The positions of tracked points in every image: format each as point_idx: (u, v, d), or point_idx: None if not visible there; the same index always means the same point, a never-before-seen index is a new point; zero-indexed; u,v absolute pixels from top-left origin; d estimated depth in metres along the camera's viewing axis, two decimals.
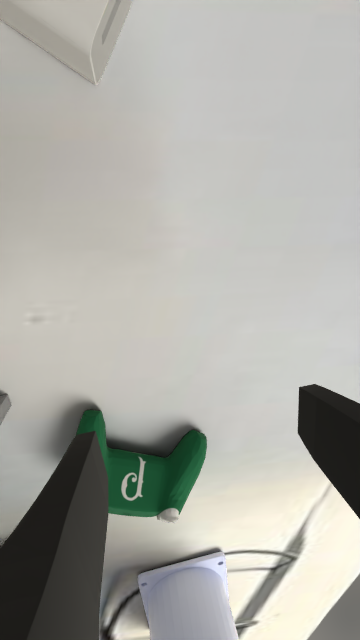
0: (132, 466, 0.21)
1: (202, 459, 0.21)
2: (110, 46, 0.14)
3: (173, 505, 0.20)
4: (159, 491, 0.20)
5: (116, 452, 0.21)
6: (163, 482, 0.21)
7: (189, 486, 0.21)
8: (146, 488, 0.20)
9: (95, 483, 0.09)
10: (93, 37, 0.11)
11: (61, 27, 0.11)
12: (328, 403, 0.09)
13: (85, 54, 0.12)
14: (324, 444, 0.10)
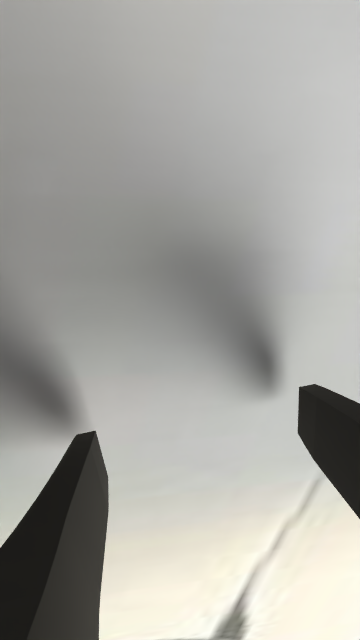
0: None
1: None
2: None
3: None
4: None
5: None
6: None
7: None
8: None
9: (95, 483, 0.09)
10: None
11: None
12: (328, 403, 0.09)
13: None
14: (323, 444, 0.10)
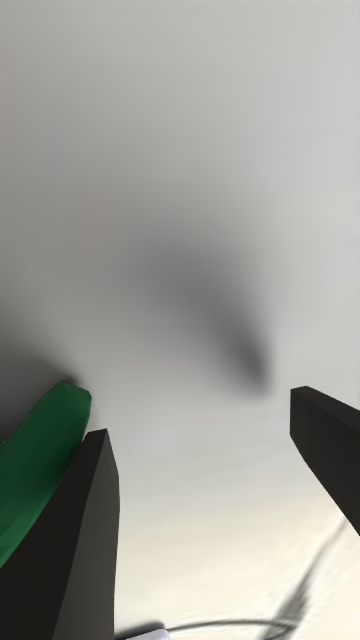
0: None
1: (69, 444, 0.09)
2: None
3: None
4: None
5: None
6: None
7: (32, 512, 0.09)
8: None
9: (108, 480, 0.09)
10: None
11: None
12: (318, 405, 0.09)
13: None
14: (314, 446, 0.10)
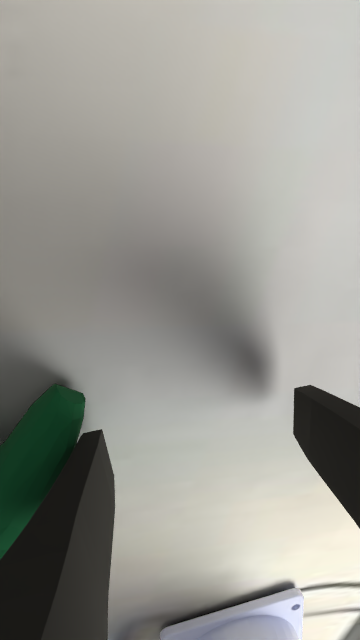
0: None
1: (62, 447, 0.09)
2: None
3: None
4: None
5: None
6: None
7: (26, 515, 0.09)
8: None
9: (102, 481, 0.09)
10: None
11: None
12: (322, 404, 0.09)
13: None
14: (318, 445, 0.10)
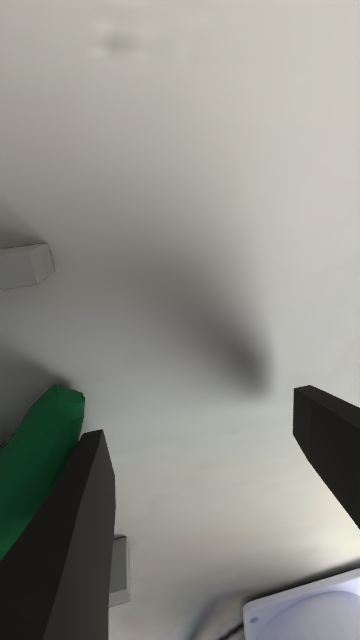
0: None
1: (63, 447, 0.09)
2: None
3: None
4: None
5: None
6: None
7: (31, 516, 0.09)
8: None
9: (103, 481, 0.09)
10: None
11: None
12: (322, 404, 0.09)
13: None
14: (318, 445, 0.10)
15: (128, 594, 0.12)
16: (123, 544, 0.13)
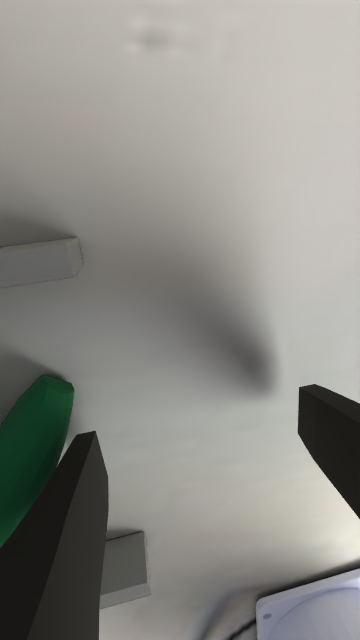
0: None
1: (50, 436, 0.09)
2: None
3: None
4: None
5: None
6: None
7: (18, 505, 0.09)
8: None
9: (95, 483, 0.09)
10: None
11: None
12: (328, 403, 0.09)
13: None
14: (324, 444, 0.10)
15: (148, 588, 0.12)
16: (142, 539, 0.13)
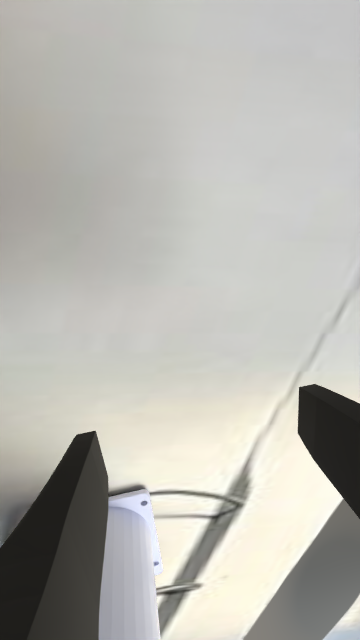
0: None
1: None
2: None
3: None
4: None
5: None
6: None
7: None
8: None
9: (95, 483, 0.09)
10: None
11: None
12: (328, 403, 0.09)
13: None
14: (323, 444, 0.10)
15: None
16: None
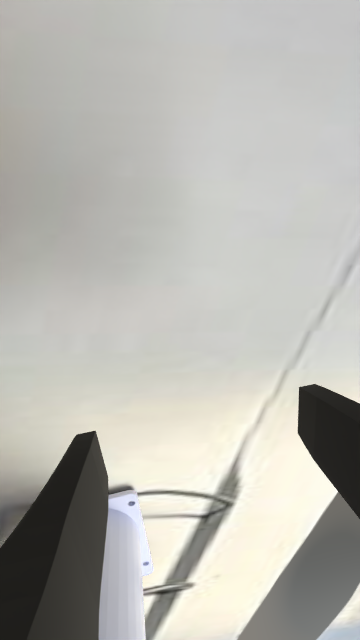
0: None
1: None
2: None
3: None
4: None
5: None
6: None
7: None
8: None
9: (95, 483, 0.09)
10: None
11: None
12: (328, 403, 0.09)
13: None
14: (324, 444, 0.10)
15: None
16: None
